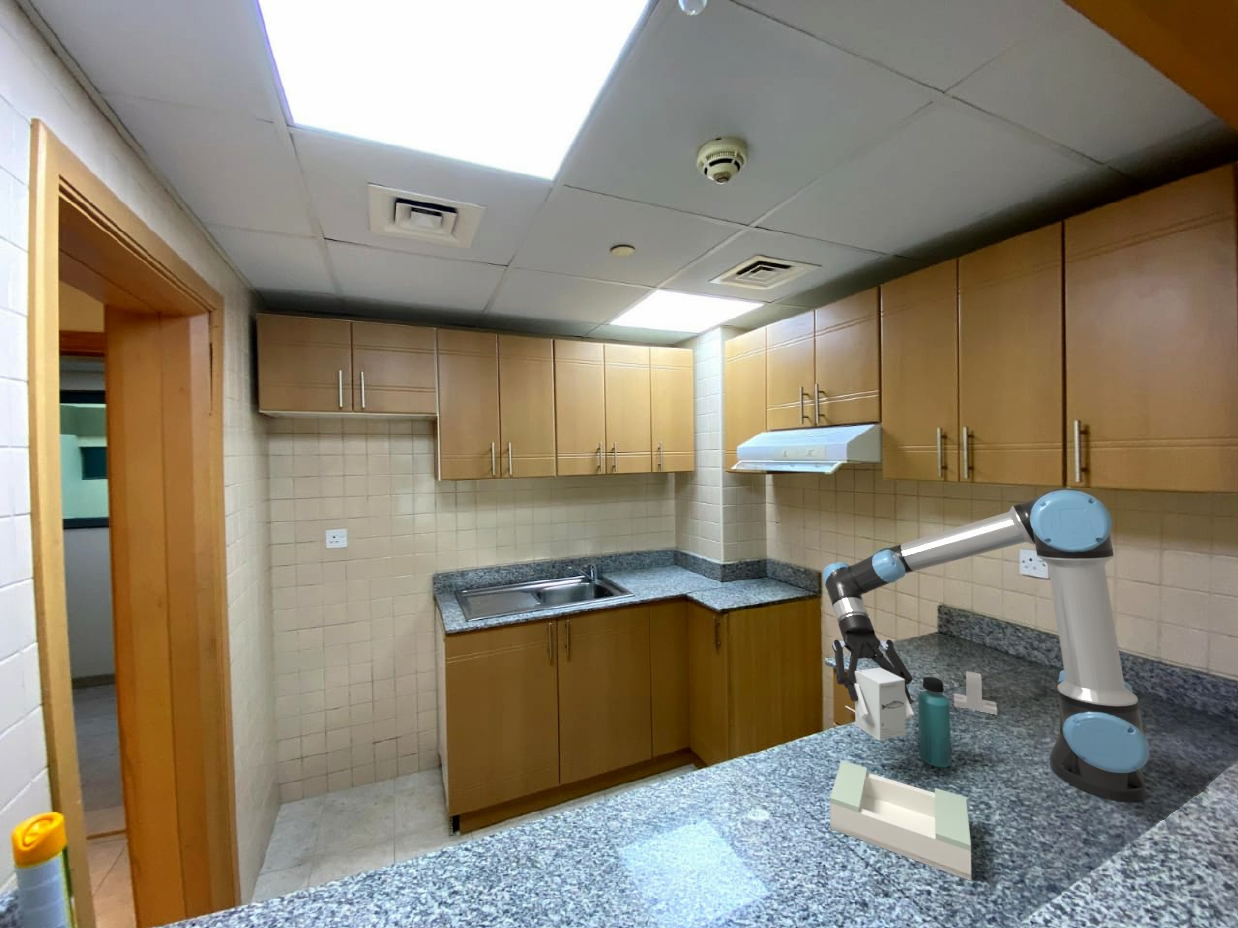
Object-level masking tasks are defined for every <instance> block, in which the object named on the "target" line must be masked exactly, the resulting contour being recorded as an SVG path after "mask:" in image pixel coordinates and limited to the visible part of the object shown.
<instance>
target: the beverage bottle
mask: <svg viewBox="0 0 1238 928" xmlns="http://www.w3.org/2000/svg"><path fill="white" fill-rule="evenodd" d="M922 681H923V682H922V688H923V689H924V690H923V691H921V692H920V693H918V695H917V700H918V701H917V702H918V703H917V704H918V705H917V706H918V707H917V708H918V711H917V712H918V713H917V715H918V716H917V721H918V722H917V726H918V733H917V734H918V735H917V736H918V737H917V738H918V742H917V743H918V745H917V746H918V747H917V748H918V754H919V757H920V759H921V760H922V761H924V762H925V763H926V764H928V765H931V766H934V767H937V768H946V767H949V766H950V765H951V763H952V757H953V756H952V752H953V751H952V738H951V737H952V734H951V720H950V719H951V718H950V715H951V714H950V703H951V702H950V700H949V699H948V698H947V697H946V696H945V695H944V694H943V693H944V691H945V688H944V682H943V680H942V679H939V678H937V677H933V676H926V677H924V678H923V680H922Z"/></svg>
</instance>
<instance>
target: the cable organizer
mask: <svg viewBox="0 0 1238 928" xmlns="http://www.w3.org/2000/svg"><path fill="white" fill-rule="evenodd" d="M965 674H966V675H965V677H966V678H965V683H966V685H965V686H966V688H965V689H966V690H965V691H966V693H965V694H966V695H965V694H961V693H960V694H959V693H954V694H953V707H954V706H956V707H955V708H957V707H960V708H959V709H961V708H969V709H973V710H977V711H980V712H986V713H990V714H995V715H997V716H998V707H997V703H996V702H995V701H992V700H987V699H982V698H983V695H982V694H983V691H982V689H983V687H982V686H983V683H982V681H983V680H982V674H981V673H979V672H973V671H968V670H966V673H965Z"/></svg>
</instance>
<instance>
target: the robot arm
mask: <svg viewBox="0 0 1238 928" xmlns="http://www.w3.org/2000/svg"><path fill="white" fill-rule="evenodd" d="M1112 527H1113V520H1112V517H1111V513H1110V511H1109V510H1108V508H1107V507H1106V506H1105V505H1104V504H1103V502H1102V501H1100V500H1099V499H1097V498H1096V497H1094V496H1093V495H1091V494H1089V493H1086V492H1083V491H1080V490H1077V489H1072V488H1057V489H1056V488H1055V489H1053V490H1050V491H1049V490H1048V491H1046V492H1044V493H1043V494H1040V495H1039V496H1037V497H1034V498H1032V499H1029V500H1027V501H1025V502H1021V503H1018V504H1015V505H1013V506H1011V507H1010V509H1009V511H1007V512H1004V513H1000V514H997V515H994V516H991V517H987V518H984V519H979V520H977V521H973V522H971V523H967V524H963V525H961V526H958V527H957V526H956V527H954V528H951V529H947V530H944V531H941V532H938V533H937V532H936V533H934V534H931V535H927V536H924V537H921V538H917V539H914V540H911V541H907V542H904V543H901V544H899V545H898V544H897V545H894V546H891V547H890V546H888V547H884V548H881V549H879V550H878V551H877V552H876V553H874V554H872V555H870V556H868V557H867V558H865V559H862V560H861V561H858V562H857V563H854V564H851V565H849V564H848V563H847V562H843V561H837V562H835V563H834V562H832V563H829V564H828V565H826V566H825V567H824V569H823V571H822V576H823V581H824V586H825V588H826V590H827V593H828V596H829V599H830V602H831V606H832V609H833V613H834V615H835V618H836V621H837V622H838V628H839V631H840V634H841V636H842V638H843V639H842V640H839V639H834V641H833V642H832V644H831V648H832V650H833V652H834V658H835V659H834V660H835V661H834V663H835V672H836V673H835V676H836V683H837V684H838V685H843V686H844V687H845V689H847V690H848V695H849V697H850V700H851V701H852V702H855V701H856V704H857V708H858V711H859V714H860V717H861V718H865V717H866V716H867V715H868V712H867V709H866V706H865V703H864V700H863V697H862V694H861V691H860V687H859V684H858V683H855V671H857V668H858V663H859V659H871V660H872V661H873V662H874V663H876V664H877V665H878V666H879V667H880V668H882V669H884V670H886V671H889V672H891V673H893V674H895V675H897V676H899V677H901V678H903V679H905V720H910V718H912V717H914V715H915V714H914V712H913V709H912V706H911V704H910V701H911V699H912V697H911V696H912V695H911V694H910V692H909V688H908V686H907V685H909V684H911V682H912V681H913V679H914V678H913V676H912V674H911V673H910V672H909V670H908V668H907V666H906V665H905V664H904V662H903V660H902V659H901V657H900V656H899V655H898V653H897V651H896V649H895V648H894V644H893V640H891V639H887V640H885V641H884V640H880V639H879V638H878V637H877V635H876V633H875V628H874V627H873V623H872V621H871V618H869V613H868V610H867V608H866V605H865V602H864V600H863V596H862V595H864V594H867V593H869V592H871V591H875V590H876V589H878V588H881V587H883V586H886V585H888V584H891V583H895V582H896V581H898V580H899V579H902V578H904V577H905V576H906V574H909V573H912V572H917V571H920V570H922V569H923V570H924V569H926V568H931V567H934V566H938V565H942V564H946V563H949V562H954V561H958V560H962V559H965V558H970V557H973V556H976V555H980V554H984V553H989V552H992V551H995V550H1001V549H1003V548H1008V547H1012V546H1016V545H1019V544H1024V543H1028V544H1030V545H1035V546H1034V547H1035V551H1036V557H1037V558H1039V559H1040V560H1042V561H1043V562H1045V563H1046V564H1047V567H1048V568H1047V570H1048V574H1049V576H1048V577H1049V580H1050V582H1049V583H1050V589H1051V593H1052V600H1053V606H1054V607H1053V608H1054V613H1055V619H1056V620H1055V621H1056V625H1057V632H1058V633H1057V634H1058V639H1059V646H1060V652H1061V659H1062V665H1063V670H1061V671H1060V672H1059V675H1058V680H1057V682H1058V684H1057V693H1058V702H1059V707H1058V708H1059V735H1058V737H1057V739H1056V740H1055V741H1056V742H1055V744H1054V745H1053V748H1052V750H1051V752H1050V754H1049V766H1050V769H1051V770H1052V772H1053V774H1055V775H1056V776H1057V777H1059V778H1060V779H1061V780H1062V781H1064V782H1065V783H1068V784H1069V785H1071V786H1073V787H1075V788H1077V789H1079V790H1082V791H1084V792H1086V793H1089V794H1092V795H1095V796H1098V797H1101V798H1105V799H1107V800H1108V799H1109V800H1113V801H1118V802H1125V803H1128V802H1129V803H1136V802H1141V801H1143V800H1144V799H1145V798H1146V794H1147V793H1146V792H1147V786H1146V781H1145V780H1144V777H1143V774H1142V772H1141V770H1140V769H1141V768H1143V767H1145V765H1146V764H1147V763H1148V761H1149V759H1150V758H1149V757H1150V750H1151V749H1150V747H1151V746H1150V744H1149V740H1147V737H1146V736H1145V733H1144V729H1143V722H1142V716H1141V710H1140V705H1139V699H1138V696H1137V695H1135V694H1134V693H1133V688H1132V686H1131V684H1129V683H1128V682H1126V681H1125V680H1124V676H1123V669H1122V668H1123V667H1122V662H1121V656H1120V651H1119V645H1118V644H1119V643H1118V638H1117V633H1116V632H1117V631H1116V627H1115V620H1114V613H1113V607H1112V602H1111V596H1110V590H1109V585H1108V584H1109V583H1108V579H1107V572H1106V567H1105V565H1106V564H1107V563H1108V562H1109V561H1111V560H1112V559H1113V558H1114V548H1113V542H1112V537H1111V532H1112ZM844 647H845V649H846V650H847V651H849V652H850V657H849V664H848V670H847V675H846V674H845V671H846V670H845V662H844V661H845V660H844V659H845V658H844ZM879 648H881V649H882V651H881V649H879ZM883 652H885V654H886V657H887V658H888V659H887V658H886V657H885V656H884V653H883ZM889 661H890V662H889Z"/></svg>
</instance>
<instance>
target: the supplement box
mask: <svg viewBox="0 0 1238 928" xmlns="http://www.w3.org/2000/svg"><path fill="white" fill-rule="evenodd" d="M855 683H858V684H859V687H860V691H861V694H862V697H863V700H864V703H865V706H866V709H867V712H868V715H867V716H866V717H865V718H861V717H860V714H859V711H858V708H857V704H856V701H854V706H855V707H854V709H855V710H854V711H855V713H854V714H855V715H854V718H855V719H854V720H855V722H854V723H855V724H854V725H855V726H857V728H859V729H861V730H863V731H864V732H865V733H867V734H868V735H870V736H871V737H873V738H874V739H875V740H877V741H878V742H881V741H883V740H884V741H885V740H889V739H893V738H895V739H896V738H900V737H904V736H907V734H906V732H907V731H906V730H907V729H906V718H905V679H903V678H901V677H899V676H897V675H895V674H893V673H891V672H889V671H886V670H884V669H882V668H881V667H880V666H879V667H873V668H867V669H862V670H861V669H860V670H856V671H855V679H854V684H855Z"/></svg>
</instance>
